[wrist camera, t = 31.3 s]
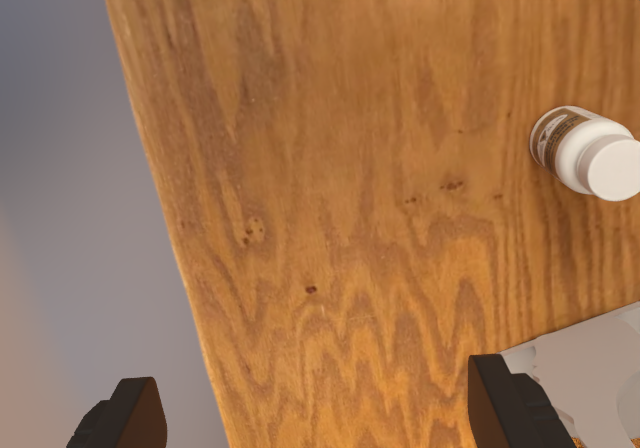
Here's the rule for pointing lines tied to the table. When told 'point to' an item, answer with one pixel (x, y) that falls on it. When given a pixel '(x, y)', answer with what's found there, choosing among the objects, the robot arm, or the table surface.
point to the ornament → (589, 376)
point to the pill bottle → (587, 153)
